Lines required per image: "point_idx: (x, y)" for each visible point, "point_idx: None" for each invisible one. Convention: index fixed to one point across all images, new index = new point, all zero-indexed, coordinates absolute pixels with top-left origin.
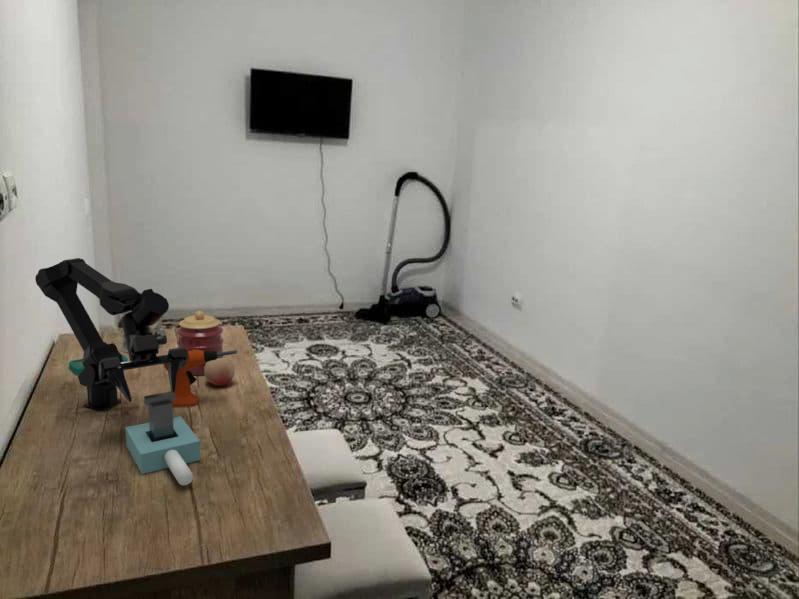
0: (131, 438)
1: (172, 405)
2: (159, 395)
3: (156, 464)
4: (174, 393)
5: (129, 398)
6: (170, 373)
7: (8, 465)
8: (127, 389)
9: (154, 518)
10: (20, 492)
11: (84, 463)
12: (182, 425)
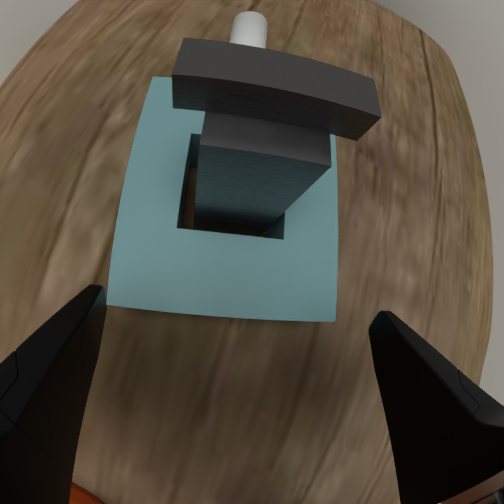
0: (337, 216)
1: (100, 502)
2: (290, 64)
3: None
4: (187, 40)
5: (394, 316)
6: (39, 433)
7: (488, 341)
8: (427, 353)
9: (317, 23)
10: (481, 226)
11: (407, 273)
12: (137, 210)
